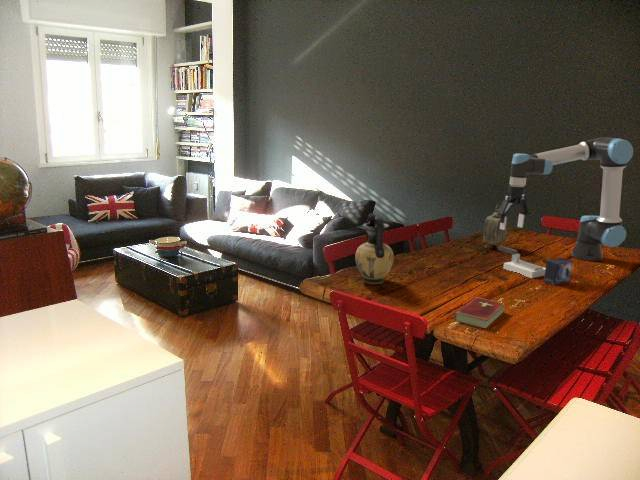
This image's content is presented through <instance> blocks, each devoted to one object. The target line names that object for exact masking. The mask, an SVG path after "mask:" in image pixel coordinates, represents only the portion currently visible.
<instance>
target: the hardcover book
mask: <svg viewBox="0 0 640 480" xmlns="http://www.w3.org/2000/svg"><path fill="white" fill-rule="evenodd" d="M505 306H506V303H503V302H500V301H497V300H496V301H495V300H492V299H491V300H490V299H487V298H482V297H478V296H476V297H475V298H473V299H471V301H469V302H468V303H466V304H465V305H464V306H462V307H461V308H460V309H459V310H457V311H456V312H455V314H454V321H455V322H459V323H464V324H467V325H471V326H475V327H479V328H482V329H486V328H487V327H490V325H491V324H492V323H494V322H495V320H497V319H498V318H499V317H500V316H501V315H502V314H503V313H504V309H505V308H504V307H505Z"/></svg>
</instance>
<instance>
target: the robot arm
mask: <svg viewBox="0 0 640 480" xmlns="http://www.w3.org/2000/svg"><path fill="white" fill-rule="evenodd" d="M632 145H633V144H631V142H629V141H628V140H626V139H622V138H617V137H607V136H606V137H604V136H603V137H598V138H592V139H589V140H585V141H581V142H579V144H575V145H571V146H566V147H562V148H557V149H553V150H547V151H543V152H539V153H533V154H527V153H513V155H512V160H511V167H510V177H509V183H508V184H509V186H508V194H509V195H504V198H503V201H502V203H501V205H500V210H499V211H498V215H499V216H501V218H500V229H502V230H505V226H506V219H508V218H507V217H508V216H507V215H508V213H509V212H510V210H511V208H513V207H514V206H517V208H518V211H519V214H518V220H517V224H516V225H517V226H516V227H517V228H523V227H524V223H525V221H524V220H525V216H527V215H528V214H529V207H528V202H527V194H525V192H526V187H525V186H526V185H527V184H526V183H527V176H528V175H542V176H543V175H549V174H551V173H552V171H553V166H556V165H560V164H564V163H570V162H574V161H579V160H582V161H589V160H596V161H600V162H599V167H600V168H601V169H602V181H601V182H602V184H601V195H600V197H601V198H600V211H599V215H582V216H581V217H580V221H579V224H578V225H579V227H578V233H577V234H578V235H577V240H576V243H575V245H574V247H573V248H572V250H571V253H570V254H571V257H573V258H575V259H579V260H581V261H582V260H583V261H589V262H599V261H602V260H603V257H604V256H603V251H602V245H603V246H605V247H608V248H615V247H618V246H620V245H621V244H622V243H623V242H624V241H625V240H626V237H627V230H626V229H625V227H624V226H623V219H622V218H621V217H620V209H621V198H622V196H621V195H622V188H623V187H622V184H623V171H624V169H625V168H626V167H628V162H630V161H631V160H632V158H633V155H634V147H633V146H632Z"/></svg>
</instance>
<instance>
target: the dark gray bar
mask: <svg viewBox="0 0 640 480" xmlns="http://www.w3.org/2000/svg"><path fill="white" fill-rule="evenodd" d="M497 251H501V252H503V253H507V254H510V255H511V260H510V262H513V263H514V264H515V265H518V266H521V267H525V268H528V269H531V270H534V271H536V270H541V269H543V267H544V266H540V265H537V264H535V263H531V262H527V261H525V260H522V261H519V260H521V254H520V253H518V250H517V249H515V248H511V247H508V246H507V247H506V246H504V245H498V248H497Z"/></svg>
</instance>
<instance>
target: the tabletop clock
mask: <svg viewBox="0 0 640 480" xmlns="http://www.w3.org/2000/svg"><path fill="white" fill-rule="evenodd" d="M500 208H501V205H500V203H498V204H496V206H495V212H493V213H492V214H491V215H488V216H487V217H486V218H485V220H484V225H483V226H484V227H483V233H482V234H483V235H482V241H483V242H487V244H486V245H484V248H485V249H487V248H488V246H489V244H490V245H492V246H494V244H496V245H495V248H496V249H498V246H499V244H500V243H502V242H504V241H505V240H506V239H507V234H508V225H509V219H508V218H507V219H506V226H505V230H502V229H500V218H501V216H499V215H498V212H499V210H500Z"/></svg>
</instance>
